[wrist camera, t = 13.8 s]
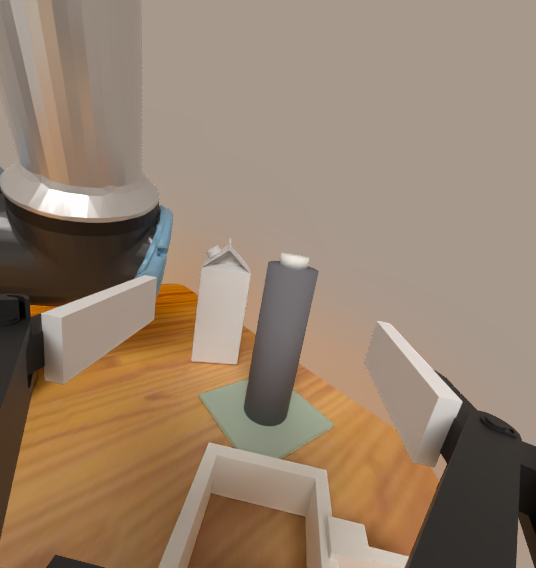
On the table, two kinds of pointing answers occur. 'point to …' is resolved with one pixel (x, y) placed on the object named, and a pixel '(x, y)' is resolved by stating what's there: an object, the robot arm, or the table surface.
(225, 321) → the milk carton
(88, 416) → the table surface
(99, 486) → the table surface
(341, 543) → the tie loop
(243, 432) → the felt mat
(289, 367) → the grey thermos flask
